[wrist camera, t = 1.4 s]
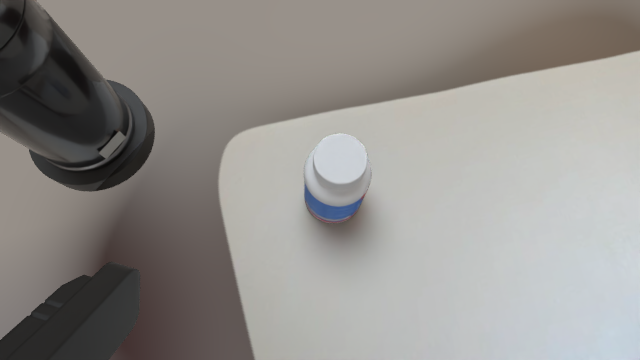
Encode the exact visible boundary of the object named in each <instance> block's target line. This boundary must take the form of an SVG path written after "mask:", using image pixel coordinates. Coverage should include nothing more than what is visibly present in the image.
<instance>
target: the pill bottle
mask: <svg viewBox="0 0 640 360" xmlns="http://www.w3.org/2000/svg"><path fill="white" fill-rule="evenodd" d="M371 175H372V172H371V165H370V162H369V160H368V155H367V152H366V149H365V147H364V146H363V144H362V143H361V142H360V141H359V140H358V139H356V138H355V137H353V136H351V135H348V134H342V133H337V134H332V135H329V136H327V137H325V138H324V139H323V140H321V141H320V142H319V144H318V145H317V146H316V148H315V149H314V150H313V151H312V152H311V153H310V155H309V156H308V158H307V160H306V162H305V166H304V197H305V203H306V205H307V208H308V209H309V211H310V212H311V213H312V215H313V216H315V217H316V218H317V219H319V220H321V221H323V222H327V223H340V222H343V221H346V220H348V219H349V218H351V217H352V216H353V215H354V214H355V213H356V212H357V210H358V208H359V207H360V204H361V202H362V200H363V198H364V196H365V194H366V192H367V189H368V187H369V184H370V181H371Z"/></svg>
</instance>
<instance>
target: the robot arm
mask: <svg viewBox="0 0 640 360" xmlns="http://www.w3.org/2000/svg"><path fill="white" fill-rule="evenodd" d="M0 132H2V133H3V134H5V135H6V136H8V137H10V138H11V139H13V140H15V141H16V142H18V143H20V144H22V145H23V146H25V147H27V148H28V149H30V150H32V151H33V152H35V153H37V154H38V155H40V156H42V157H44V158H45V159H46V160H47V161H49V162H50V163H52V164H53V165H55V166H57V167H59V168H61V169H63V170H66V171H70V172H77V173H83V172H91V171H95V170H98V169H101V168H103V167H105V166H107V165H109V164H111V163H112V162H114V161H115V160H116V159H117V158H118V157H119V156H121V154H122V153H123V152H124V151H125V150H126V148H127V147H128V145H129V143H130V141H131V139H132V136H133V133H134V116H133V113H132V110H131V108H130V107H129V105H128V104H127V102H126V101H125V100H124V99H123V98H122V97H121V96H120V95H119V94H118V93H117V92H116V91H115V90H114V89H113V88H112V87H111V85H110V84H109V83H108V82H107V81H106V79H105V78H103V76H102V75H101V74H100V73H99V71H97V69H96V68H95V67H94V66H93V65H92V64H91V62H90V61H89V60H88V59H87V58H86V57H85V55H84V54H83V53H82V52H81V51H80V50H79V49H78V47H77V46H76V45H75V44H74V43H73V42H72V40H71V39H70V38H69V37H68V36H67V35H66V34H65V33H64V31H63V30H62V29H61V28H60V27H59V26H58V24H57V23H56V22H55V21H54V20H53V19H52V18H51V17H50V15H49V14H48V13H47V12H46V11H45V10H44V9H43V8H42V7H41V5H40V4H39V3H38V2H37V1H36V0H0ZM139 298H140V272H139V270H137V269H134V268H130V267H127V266H124V265H120V264H118V263H114V262H109V263H107V264H106V265H104V266H103V267H102V268H101V269H100V270H99V271H98V272H97V273H96V274H95V275H94V276H93V277H89V276H86V275H82V276H80V277H78V278H76V279H74V280H72V281H70V282H68V283H66V284H64V285H62V286H61V287H60V288H58V289H57V290H56V291H55V292H54V293H53V294H52V295H51V296H50V297H48V298H47V299H46V300H45V302H44V303H42V304H40V305H39V306H38V307H37V308H36V309H35V310H34V311H32V313H31V315H30V316H27V317H26V318H25V319H24V320H22V321H21V322H20V323H19V324H18V325H17V326H16V327H15V328H13V329H12V330H11V331H10V332H9V333H8V334H7V335H5V336H4V337H3V338H2V339H1V340H0V360H109V359H110V357H111V356H112V355H113V354H114V352H115V351H116V350H117V348H118V347H119V346H120V345H121V343H122V342H123V341H124V340H125V338H126V337H127V336H128V334H129V333H130V332H131V330H132V329H133V326H134V325H135V322H136V320H137V317H138V314H139V300H140V299H139Z"/></svg>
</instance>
